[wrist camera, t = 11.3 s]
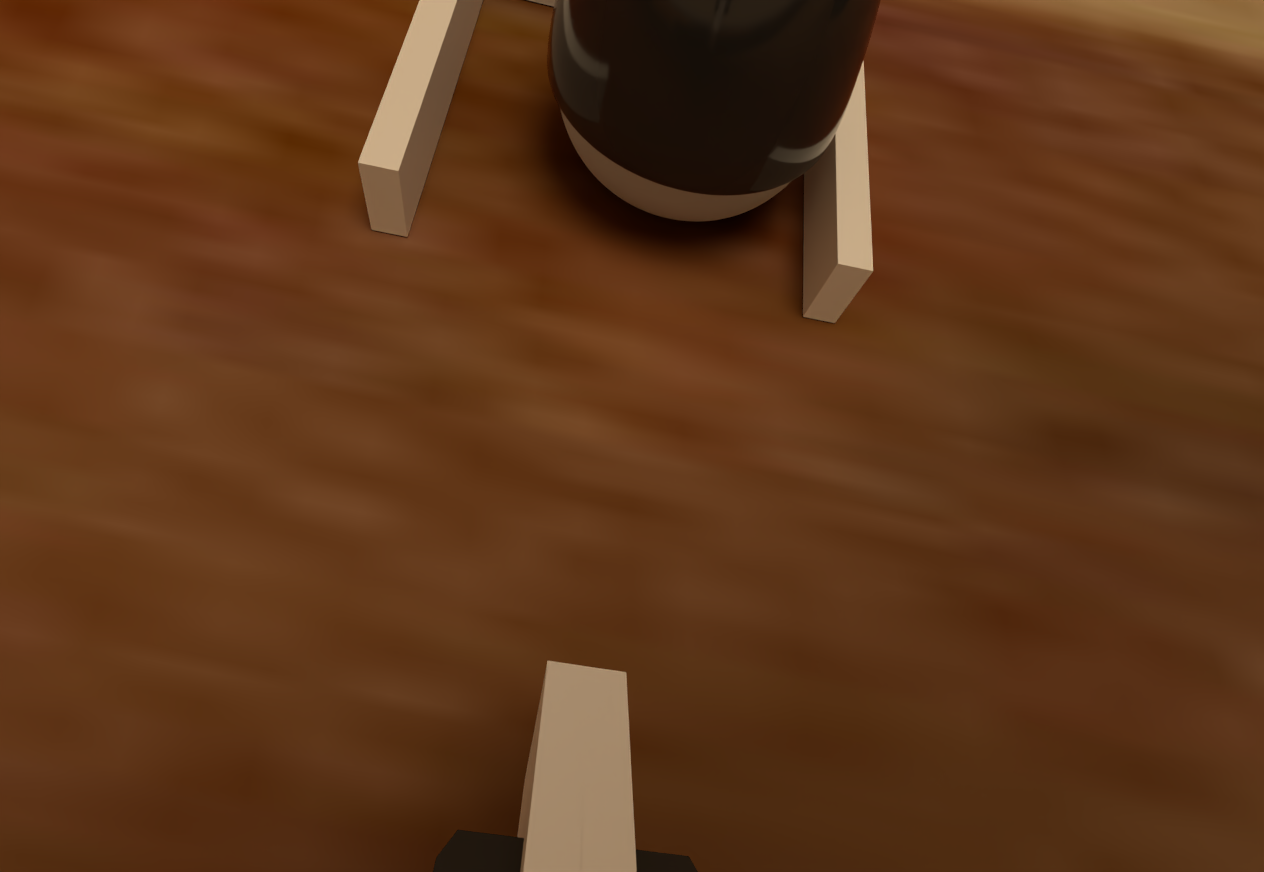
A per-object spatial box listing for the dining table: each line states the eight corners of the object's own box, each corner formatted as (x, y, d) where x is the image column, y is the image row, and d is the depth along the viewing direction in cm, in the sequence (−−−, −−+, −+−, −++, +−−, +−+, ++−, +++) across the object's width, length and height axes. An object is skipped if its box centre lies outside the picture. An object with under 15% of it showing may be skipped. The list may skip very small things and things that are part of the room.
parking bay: (830, 54, 34) (864, -19, 31) (834, 323, 27) (878, 263, 24) (463, -35, 32) (461, -122, 29) (371, 229, 25) (355, 152, 22)
